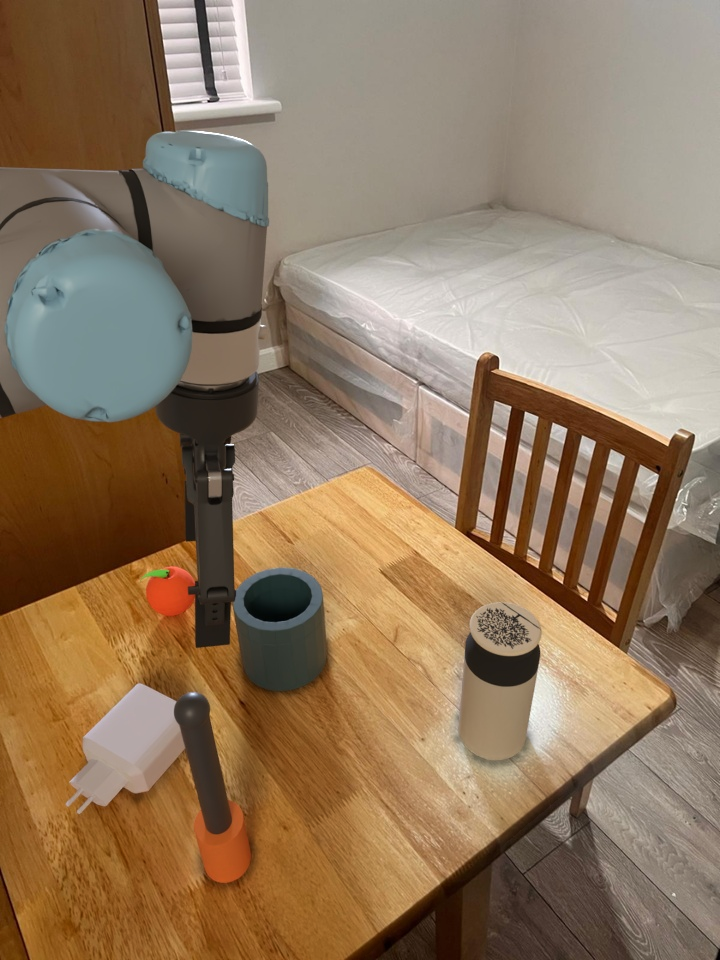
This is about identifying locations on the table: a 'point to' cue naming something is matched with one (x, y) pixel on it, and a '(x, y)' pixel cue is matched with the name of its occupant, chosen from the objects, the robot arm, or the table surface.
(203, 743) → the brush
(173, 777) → the table surface
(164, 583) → the clementine
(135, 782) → the charger
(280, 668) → the dark grey pipe sleeve
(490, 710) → the travel mug
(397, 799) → the table surface
